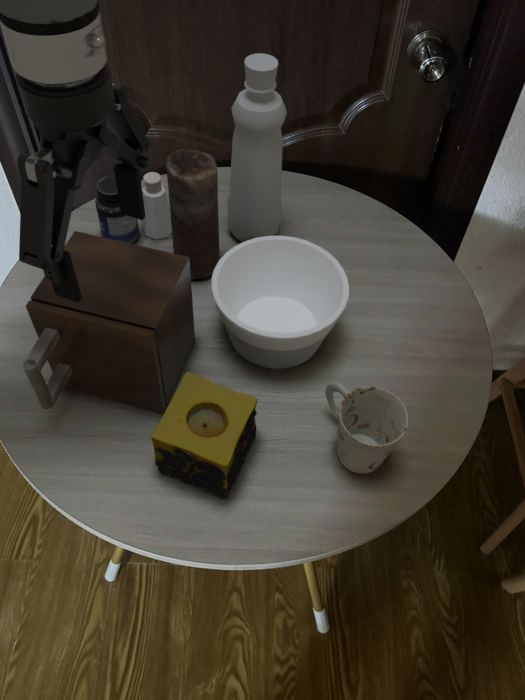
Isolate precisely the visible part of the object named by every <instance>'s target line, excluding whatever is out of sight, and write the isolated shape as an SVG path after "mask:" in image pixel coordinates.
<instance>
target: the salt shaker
mask: <svg viewBox="0 0 525 700" xmlns="http://www.w3.org/2000/svg"><path fill="white" fill-rule="evenodd" d="M142 179H143V182H144V186H143V187H142V194H143V202H144V209H145V218H144V219H143V220H141V222H142V230H143V233H144V235H145V236H146V237H147V238H150V239H153V240H156V241H158V240H161V239H166V238H169V237H170V235H172V228H171V213H170V203H169V198H168V196H167V192H166V188H165V187H164V185H163V184H162V176H161V174H160V173H158V172H155V171H149V172H147V173H145V174H144V175H143V178H142Z"/></svg>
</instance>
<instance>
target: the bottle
mask: <svg viewBox="0 0 525 700" xmlns="http://www.w3.org/2000/svg"><path fill="white" fill-rule="evenodd" d="M243 63H244V73H245V80H244V82H243V83H244V84H243V85H244V87H245V88H244V89H243V90H241V91H240V92H238V95H237V96H236V99H235V100H234V102H233V104H232V106H231V114H232V119H233V123H234V125H235V126H234V130H233V134H232V144H231V145H232V146H231V161H230V162H231V163H230V176H229V177H230V178H229V192H228V196H227V197H228V198H227V200H226V203H227V205H226V206H227V208H226V209H227V211H226V212H227V223H228V224H227V228H228V230H229V232H230V233H231V234H232V235H233V236H234V237H235V239H236V240H238V241H240V242H241V243H243V242H245V241H247V240H251V239H254V238H257V237H264V236H276V235H277V234H278V232H279V226H280V223H281V221H282V210H283V201H282V173H283V171H282V170H283V145H284V144H283V133H282V126H283V124H284V122H285V120H286V118H287V117H286V116H287V113H288V112H287V108H286V105H285V103H284V100H283V98H282V96H281V94H279V92H277V91H276V88H277V85H278V84H277V82H276V78H277V73H278V68H279V60H278V59H277V57H275V56H274V55H271V54H269V53H268V54H267V53H263V52H262V53H261V52H260V53H259V52H258V53H251V54H250V55H248V56H245V59H244V62H243Z"/></svg>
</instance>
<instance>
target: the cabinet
mask: <svg viewBox="0 0 525 700" xmlns="http://www.w3.org/2000/svg"><path fill="white" fill-rule="evenodd" d="M64 251H67V252H70V256H71V259H72V263H73V267H74V270H75V274H76V277H77V281H78V285H79V288H80V292H81V295H82V299H81V300H80V301H79V303H77V302H74V301H71V300H69V299H66V298H63V297H60V296H58V295H55V292H54V289H53V286H52V283H51V281H48V280H47V279H46V278H45V275H44V276H43V278H42V279H41V281H40V282H39V284H38V285H37V286H36V288H35V290H34V291H33V292H32V294H31V295H30V300H31V301H35V302H39V303H43V304H47V305H51V306H55V307H59V308H64V309H68V310H72V311H76V312H80V313H84V314H88V315H92V316H96V317H100V318H104V319H108V320H112V321H116V322H120V323H124V324H129V325H133V326H137V327H141V328H145V329H149V330H153V331H154V333H155V339H156V345H157V352H158V358H159V365H160V371H161V378H162V384H163V391H164V397H165V404H166V408H168V406H169V404H170V402H171V400H172V398H173V396H174V392H175V391H176V389H177V388H176V387H177V385H178V383H179V380H180V378H181V376H182V374H183V371H184V369H185V367H186V364H187V361H188V359H189V357H190V355H191V352H192V350H193V348H194V345H195V343H196V334H195V333H196V331H195V318H194V306H193V305H194V304H193V291H192V289H193V288H192V279H191V274H190V259H189V257H187V256H182V255H178V254H174V252H170V251H165V250H161V249H156V248H152V247H147V246H143V245H138V244H135V243H134V244H130V243H126V242H121V241H117V240H113V239H108V238H104V237H102V236H99V235H94V234H91V233H87V232H82V231H77V230H74V232H72V234H71V236H70V237H69V239H68V240H67V242H65V246H64Z"/></svg>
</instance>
